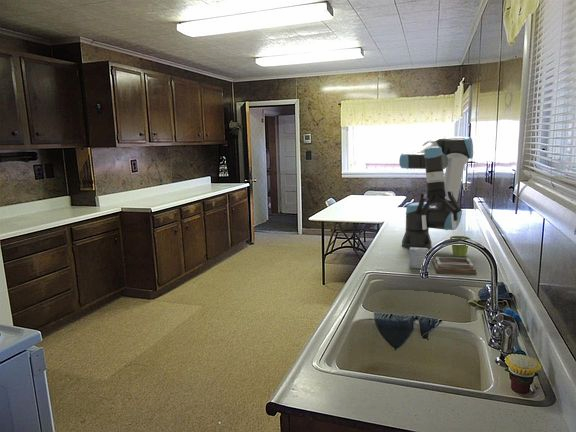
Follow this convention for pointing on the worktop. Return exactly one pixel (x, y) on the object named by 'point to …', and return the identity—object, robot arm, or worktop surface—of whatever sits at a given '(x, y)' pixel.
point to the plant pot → (459, 247)
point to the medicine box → (417, 257)
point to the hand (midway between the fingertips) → (439, 229)
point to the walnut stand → (453, 265)
